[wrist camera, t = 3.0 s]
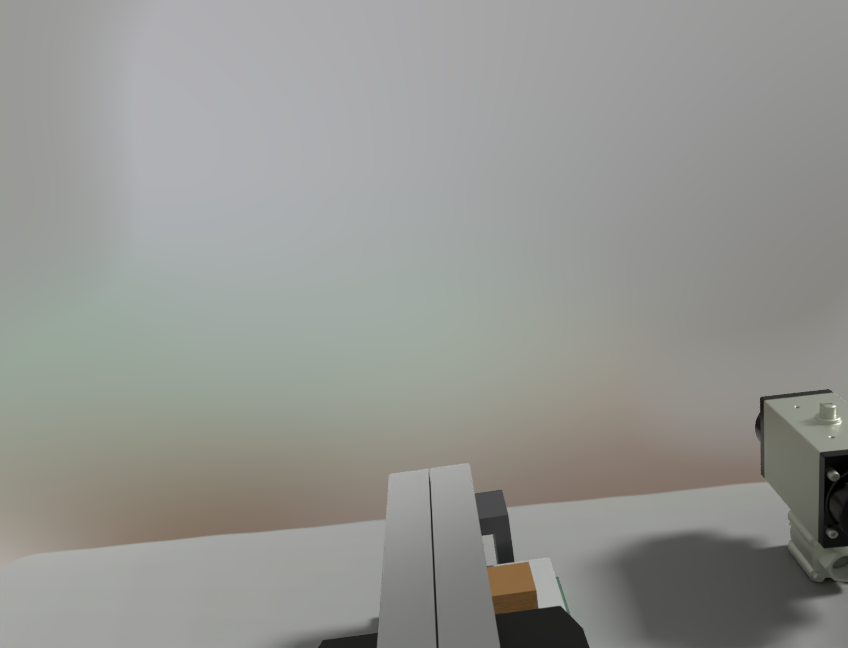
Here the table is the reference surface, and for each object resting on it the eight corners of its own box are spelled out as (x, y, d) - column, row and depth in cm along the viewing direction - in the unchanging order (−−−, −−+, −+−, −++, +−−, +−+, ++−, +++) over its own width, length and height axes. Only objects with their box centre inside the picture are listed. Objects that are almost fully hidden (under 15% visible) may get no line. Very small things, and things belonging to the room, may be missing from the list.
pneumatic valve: (834, 630, 40) (838, 451, 37) (753, 519, 51) (751, 374, 48) (931, 622, 40) (945, 440, 36) (828, 512, 51) (831, 365, 48)
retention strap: (562, 805, 26) (536, 590, 23) (435, 821, 26) (394, 609, 23) (511, 574, 40) (491, 420, 37) (428, 585, 40) (401, 434, 37)
